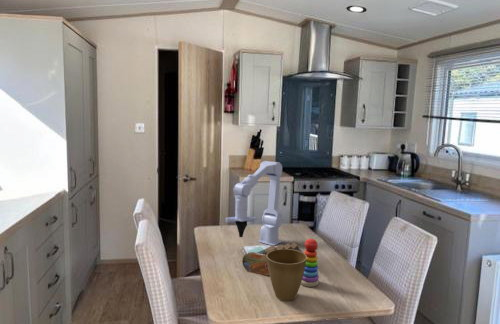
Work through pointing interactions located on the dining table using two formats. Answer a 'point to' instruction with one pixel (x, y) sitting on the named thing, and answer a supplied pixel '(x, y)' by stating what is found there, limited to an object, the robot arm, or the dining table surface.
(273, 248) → the domino
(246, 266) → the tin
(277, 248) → the domino
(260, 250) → the domino
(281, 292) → the plant pot
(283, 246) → the domino
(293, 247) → the domino
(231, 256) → the dining table surface
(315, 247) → the stacking toy
